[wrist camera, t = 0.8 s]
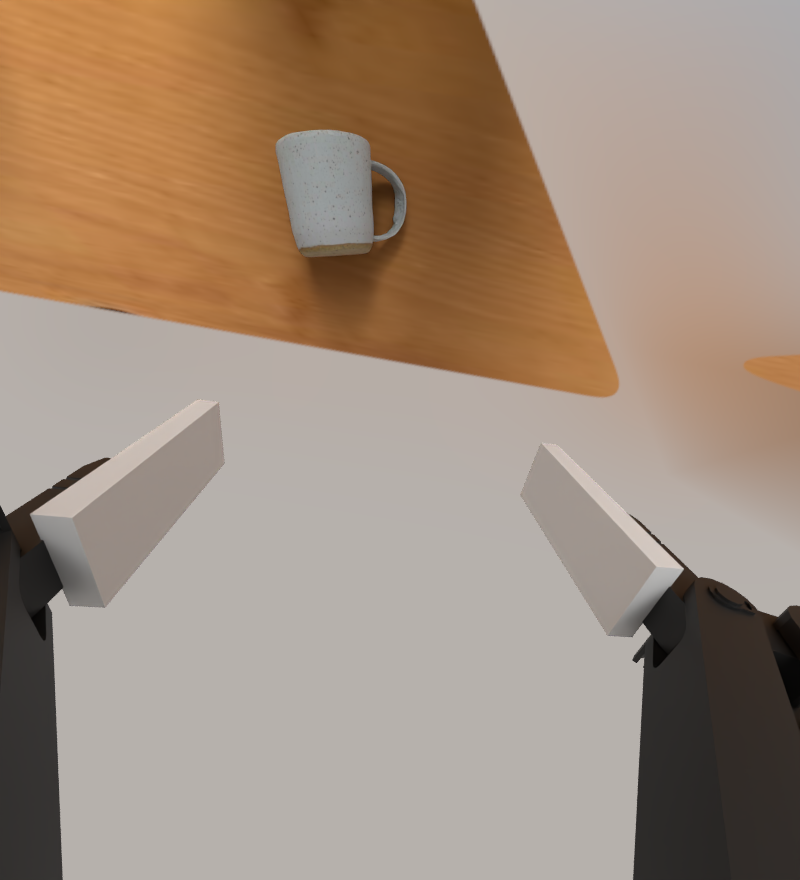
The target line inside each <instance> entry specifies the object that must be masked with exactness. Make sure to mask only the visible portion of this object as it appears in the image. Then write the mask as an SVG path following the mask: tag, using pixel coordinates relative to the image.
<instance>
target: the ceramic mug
mask: <svg viewBox="0 0 800 880" xmlns="http://www.w3.org/2000/svg"><path fill="white" fill-rule="evenodd" d="M276 155H277V159H278V163H279V168H280V173H281V178H282V183H283V188H284V193H285V198H286V202H287V206H288V211H289V216H290V221H291V227H292V232H293V235H294V238H295V241H296V244H297V247H298V249H299V251H300V253H301V254H302V255H304V256H305V257H324V256H341V255H355V254H365V253H368V252H369V251H370V249H371V248H372V243H373V242H377V241H382V240H386V239H388V238H390V237H392V236H394V235H395V234H396V233H397V232H398V231H399V229H400V228H401V226H402V224H403V222H404V219H405V215H406V193H405V189H404V186H403V184H402V182H401V181H400V179H399V178H398V176H397V175H396V174H395V173H394V172H393V171H392V170H391V169H389V168H388V167H387V166H385V165H383V164H381V163H379V162H376V161H372V160H371V156H370V145H369V142H368V141H367V140H366V139H364V138H363V137H361V136H359V135H356V134H353V133H349V132H342V131H336V130H310V131H303V132H295V133H290V134H288V135H285V136H284V137H282V138H281V139H279V140H278V141H277V143H276ZM371 170H372V171H375V172H378V173H379V174H381V175H382V176H384V177H385V178H386V179H387V180H388V181H389V182H390V183H391V185H392V186H393V189H394V193H395V212H394V216H393V222H394V224H393V226H392V228H391V229H390V230H389V231H388V232H387V233H386V234H383V235H381V236H374V223H373V210H372V179H371Z"/></svg>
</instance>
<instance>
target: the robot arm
mask: <svg viewBox="0 0 800 880" xmlns="http://www.w3.org/2000/svg"><path fill="white" fill-rule="evenodd" d="M223 465H224V454H223V442H222V433H221V421H220V410H219V403H218V402H214V401H206V400H196V401H195V402H193V403H192V404H190V405H189V406H187V407H186V408H184V409H183V410H182V411H180V412H179V413H177V414H176V415H174V416H173V417H171V418H170V419H168V420H167V421H165V422H164V423H162V424H161V425H159V426H158V427H157V428H155V429H154V430H152V431H151V432H149V433H148V434H146V435H145V436H143V437H142V438H140V439H139V440H138V441H136V442H135V443H133V444H132V445H130V446H129V447H127V448H126V449H124V450H123V451H121V452H120V453H119V454H117V455H116V456H114V457H113V458H103V459H101V460H98V461H96V462H93V463H90V464H88V465H85V466H83V467H81V468H80V469H78V470H77V471H75V472H74V473H72V474H71V475H69V476H67V478H66V479H63V480H61V481H60V482H58V483H56V484H55V485H53V487H52V489H47V490H46V491H44V492H43V493H41V494H39V495H38V496H36V497H35V498H33V499H32V500H31V501H29V502H27V503H25V504H24V505H23V506H21V507H19V508H18V509H16V510H15V511H13V512H12V513H10V514H8V515H7V516H5V514H4V512H3V510H2V508H1V506H0V880H63V879H62V855H61V854H62V853H61V829H60V804H59V778H58V753H57V728H56V706H55V678H54V653H53V629H52V612H51V610H50V608H49V606H48V604H47V603H48V602H49V601H50V600H51V599H52V598H53V597H54V596H55V595H56V594H57V593H58V592H59V591H60V590H61V589H63V591H64V594H65V596H66V598H67V601H68V603H69V605H70V606H86V607H87V606H88V607H104V608H105V607H106V606H107V605H108V603H109V602H110V601H111V600H112V598H113V597H114V596H115V595H116V594H117V593H118V591H119V590H120V589H121V588H122V587H123V585H124V584H125V583H126V582H127V580H128V579H129V578H130V577H131V576H132V574H133V573H134V572H135V571H136V570H137V568H138V567H139V566H140V565H141V564H142V562H143V561H144V560H145V559H146V557H147V556H148V555H149V554H150V552H152V550H153V549H154V548H155V547H156V546H157V544H158V543H159V542H160V541H161V540H162V538H163V537H164V536H165V535H166V533H167V532H168V531H169V530H170V529H171V527H172V526H173V525H174V524H175V523H176V521H177V520H178V519H179V518H180V517H181V515H182V514H183V513H184V512H185V511H186V509H187V508H188V507H189V506H190V505H191V503H192V502H193V501H194V500H195V499H196V497H197V496H198V495H199V493H200V492H201V491H202V490H203V489H204V488H205V486H206V485H207V484H208V483H209V481H210V480H211V479H212V478H213V477H214V476H215V474H216V473H217V472H218V471H219V470H220V468H221V467H222V466H223ZM521 497H522V499H523V500H524V502H525V503H526V505H527V507H528V508H529V510H530V511H531V513H532V515H533V516H534V518H535V519H536V521H537V523H538V524H539V526H540V528H541V529H542V531H543V532H544V534H545V536H546V537H547V539H548V540H549V542H550V544H551V545H552V547H553V548H554V550H555V552H556V553H557V555H558V557H559V558H560V560H561V561H562V563H563V565H564V566H565V567H566V569H567V571H568V573H569V574H570V576H571V578H572V579H573V581H574V582H575V584H576V586H577V587H578V589H579V590H580V592H581V594H582V595H583V597H584V598H585V600H586V602H587V603H588V605H589V606H590V608H591V610H592V611H593V613H594V615H595V616H596V618H597V619H598V621H599V623H600V624H601V626H602V627H603V629H604V631H605V632H606V634H607V635H608V636H621V637H633V635H634V634H635V633H636V631H637V630H638V629H639V627H640V626H641V625H642V623H643V624H644V625H645V626H646V628H647V629H648V630H649V631H650V633H651V635H650V637H649V638H648V639H647V640H646V642H645V643H644V644H643V645H642V647H641V648H640V649H639V650H638V652H637V653H636V654H635V655H634V658H633V661H634V662H636V663H637V662H638V661H639V660H640V658H644V666H643V668H644V677H643V698H642V717H641V736H640V737H641V738H640V757H639V776H638V796H637V816H636V835H635V855H634V874H633V880H800V606H789V607H788V608H787V609H786V610H785V611H784V612H783V613H782V614H781V615H780V616H779V617H776V616H773V615H770V614H767V613H763V612H760V611H757V609H756V608H755V607H754V606H753V605H752V604H751V603H750V602H749V601H748V600H747V599H746V598H745V597H744V596H742V595H741V594H739V593H738V592H737V591H735V590H734V589H732V588H730V587H728V586H727V585H725V584H723V583H720V582H718V581H715V580H713V579H709V578H703V577H701V578H698V577H697V576H696V575H695V574H694V573H693V572H692V571H691V570H690V569H689V568H688V567H686V566H685V565H684V563H682V562H681V561H680V560H679V559H678V558H677V557H676V556H675V555H674V554H673V553H672V552H671V551H670V550H669V549H668V548H667V547H666V546H665V545H664V544H661V541H660V540H659V539H658V538H657V537H656V536H655V535H653V534H651V532H650V531H649V530H648V529H647V528H646V527H645V526H644V525H643V524H642V523H641V522H640V521H638V520H637V519H636V518H634V517H633V516H631V515H630V514H628V513H627V512H625V511H624V510H623V509H622V508H621V507H620V506H619V505H618V504H617V503H616V502H615V501H614V500H613V499H612V498H611V497H610V496H609V495H608V494H607V493H606V492H605V491H604V490H603V489H602V488H601V487H600V486H599V485H598V484H597V483H596V482H595V481H594V480H593V479H592V478H591V477H590V476H589V475H588V474H587V473H586V472H585V471H584V470H583V469H582V468H581V467H580V466H579V465H578V464H577V463H576V462H575V461H573V460H572V459H571V458H570V457H569V456H568V455H567V454H566V453H565V452H564V451H563V450H562V449H561V448H560V447H559V446H558V445H554V444H547V443H541V444H540V446H539V449H538V452H537V454H536V456H535V459H534V461H533V464H532V466H531V469H530V471H529V474H528V477H527V479H526V482H525V484H524V487H523V489H522V492H521Z"/></svg>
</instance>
